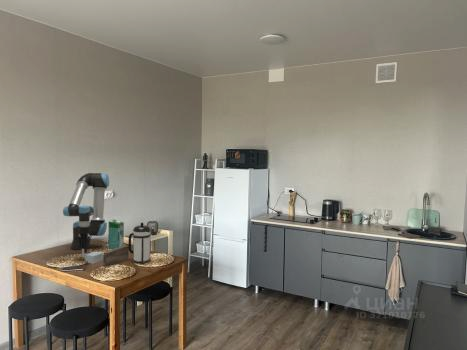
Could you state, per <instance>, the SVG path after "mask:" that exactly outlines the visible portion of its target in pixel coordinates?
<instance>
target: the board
mask: <svg viewBox="0 0 467 350" xmlns="http://www.w3.org/2000/svg"><path fill="white" fill-rule="evenodd" d="M102 253H103V261H102V262H103V267H106V266H109V265H111V266H113V265H116V264H118V263H121V262H123V261H124V262H125V261H127V260H129V245H124V246H121V247H118V248H115V249H112V250H109V251H108V250H107V251H104V252H102ZM109 267H110V266H109Z"/></svg>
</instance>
